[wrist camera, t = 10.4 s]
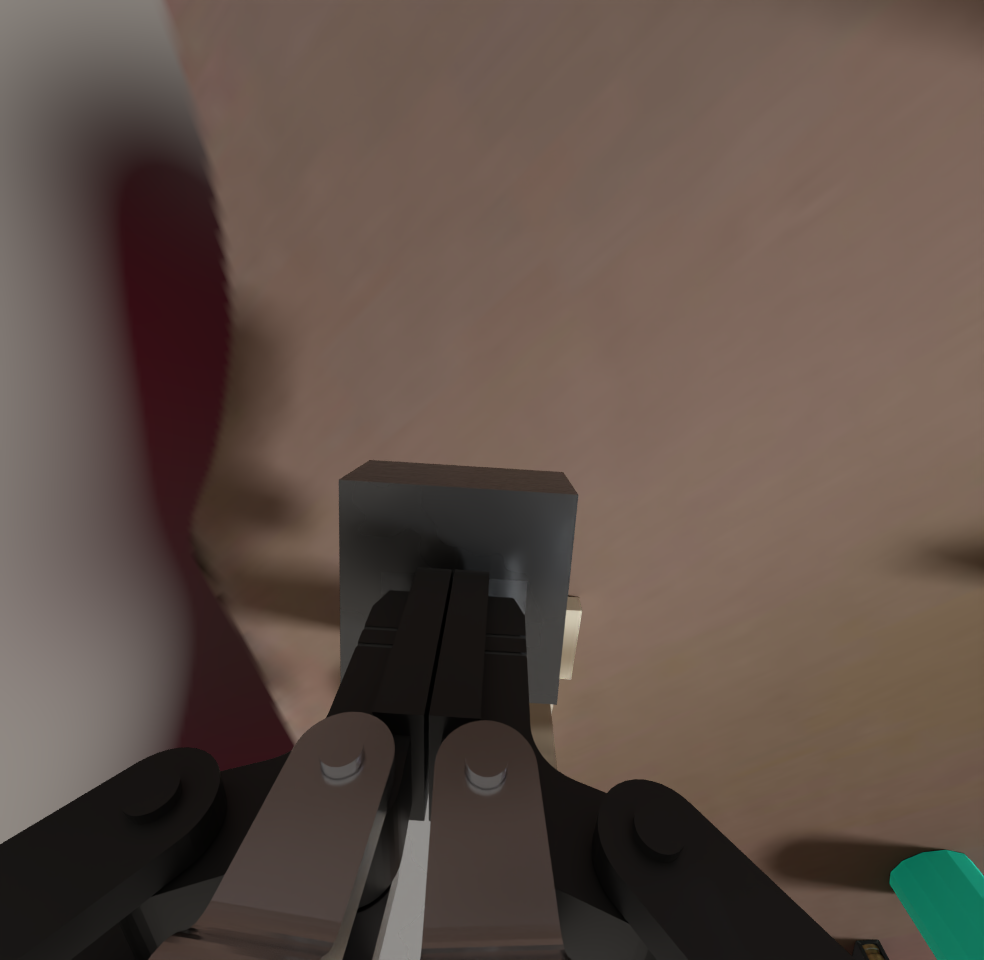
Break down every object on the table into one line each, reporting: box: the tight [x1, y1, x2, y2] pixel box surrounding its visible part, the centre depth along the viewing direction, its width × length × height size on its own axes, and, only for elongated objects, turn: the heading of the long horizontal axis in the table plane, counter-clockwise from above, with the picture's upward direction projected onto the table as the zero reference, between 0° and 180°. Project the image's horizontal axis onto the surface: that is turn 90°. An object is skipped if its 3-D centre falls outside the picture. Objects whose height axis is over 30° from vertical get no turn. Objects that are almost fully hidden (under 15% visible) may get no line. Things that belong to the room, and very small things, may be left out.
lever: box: [339, 460, 578, 960], centre depth 16 cm, size 30×5×5 cm, turn 176°
